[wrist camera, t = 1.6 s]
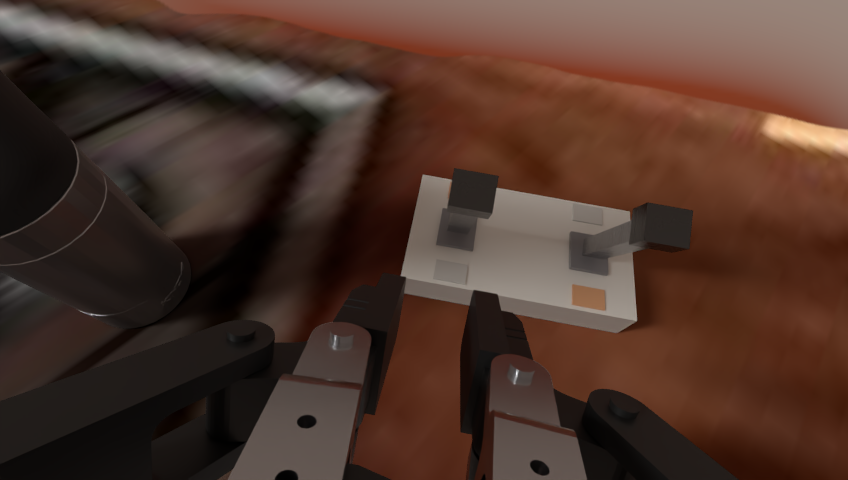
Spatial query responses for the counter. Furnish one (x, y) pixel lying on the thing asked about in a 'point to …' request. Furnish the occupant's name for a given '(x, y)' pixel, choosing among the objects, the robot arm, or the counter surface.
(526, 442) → the robot arm
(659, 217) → the lever
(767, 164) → the counter surface
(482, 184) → the lever
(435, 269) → the switch unit
